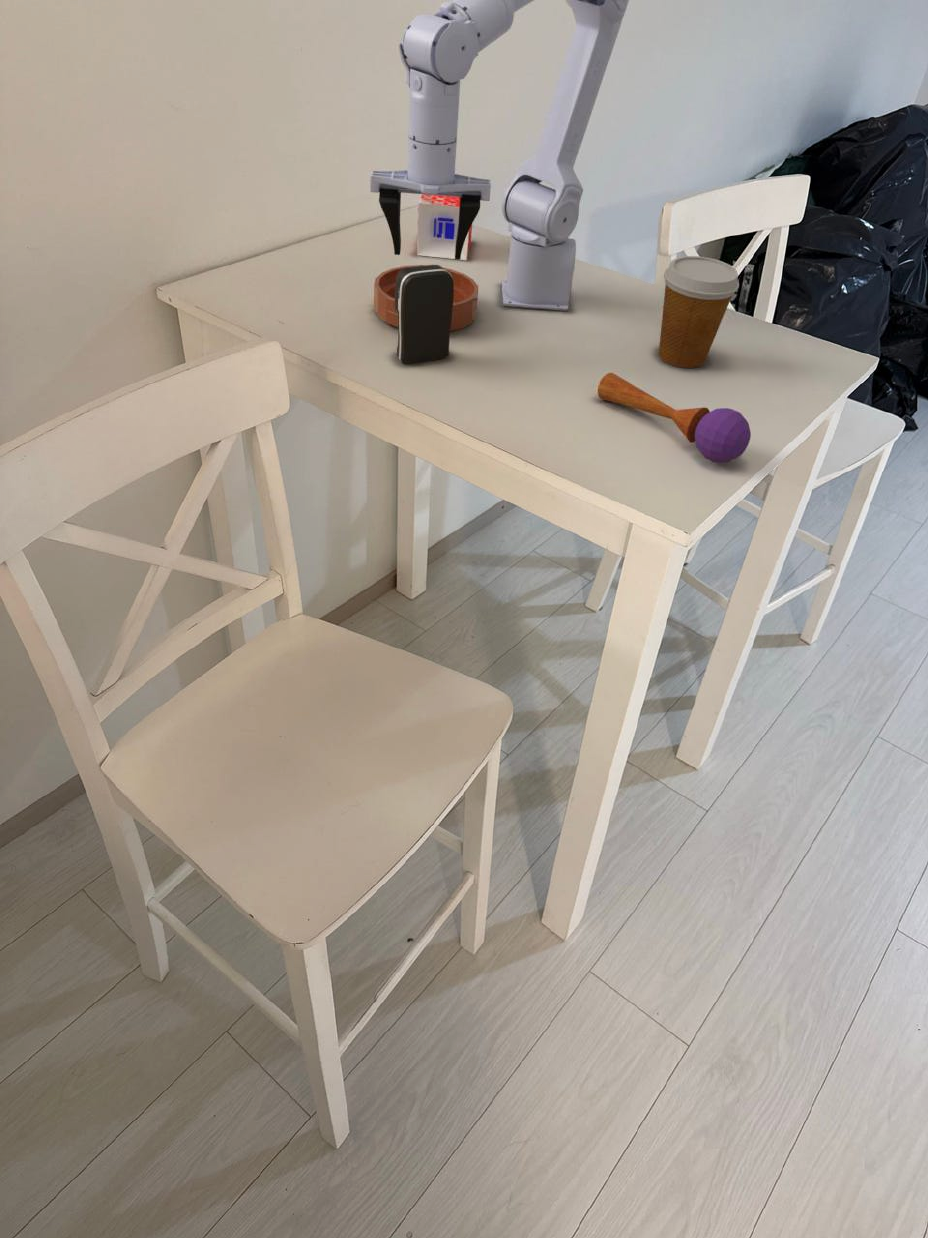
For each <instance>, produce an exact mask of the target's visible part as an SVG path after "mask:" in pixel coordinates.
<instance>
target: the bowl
mask: <svg viewBox="0 0 928 1238" xmlns="http://www.w3.org/2000/svg"><path fill="white" fill-rule="evenodd" d="M424 265H425V264H416V265H415V264H414V265H402V266H399V267H398V266H397V267H392V268H390V269H387V270H385V271H383V272H381V273H380V274H379V275H377V276H376V277H375V279H374V284H373V285H374V286H373V310H374V312H375V314H376V315H377V317H378V318H380V319H381V320H383V321H384V322H385V323H387V324H389V325H392V326H394V327H397V328H398V312H397V311H396V310H395V283H396V277H397V275H398V273H399V272H400V271H401V270H402V269H404V268H408V267H415V266H424ZM443 268H444V269H445V270H447V271H448V272H449V273H450V274H451V276H452V278H453V281H454V297H453V311H452V320H451V329H450V332H452V331H455V330H460V329H463V328H465V327H466V326H468V325H470V324H472V323H473V321H474V320H475V318H477V314H478V313H477V312H478V301H479V285H478V284H477V282H476V281H475V279H473V278H471V277H470V276H469V275H467V274H465V273H463V272H460V271H457V270H455V269H452V268H447V267H443Z"/></svg>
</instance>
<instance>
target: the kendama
mask: <svg viewBox="0 0 928 1238" xmlns="http://www.w3.org/2000/svg"><path fill="white" fill-rule="evenodd" d="M597 397H599V399H601V400H604V401H606V402H607V401H609V402H611V403H614V404H618V405H621V406H625V407H629V408H632V409H636V410H639V411H641V412H645V413H650V414H653V415H655V416H656V415H657V416H659V417H664V418H666V419H670V420H672V421H673V423H674V424H675V425H676V427H677V428H678V429H679V430H680V431H681V434H682V435H683V436H684V437H685V438H686V440H687V441H688V442H689V443H695V445H696V448H697V450H698V451H699V452H700V454H701V455H702V456H703V458H704V459H707V460H709V461H710V462H711V461H712V462H714V463H730V462H732V461H734V460H736V459H738V458H739V457H741V456H742V455H743V454H744V453H745V452H746V450H747V448H748V446H749V444H750V440H751V437H752V433H751V428H750V423H749V421H748V420H747V419H746V418H745V416H744V415H743V414H742V413H741V412H739V411H737V410H734V409H733V408H727V407H721V408H720V407H719V408H714V409H713V410H709V408H708V407H705V406H703V407H694V408H684V409H683V408H682V409H675V408H673V407H672V406H669V405H668V404H666V403H665V402H663V401H661V400H659V398H656V397H655V396H653V395H651V394H649V393H648V392H646V391H644V390H642V389H641V388H639V387H637V386H636V385H634V384H632V383H630V382H629V381H627V380H626V379H624V378H623V377H620V376H619V375H617V374H615V373H614V372H608V373H606V374H604V375H603V377H602V378H601V379H600V381H599V384H598V386H597Z"/></svg>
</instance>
